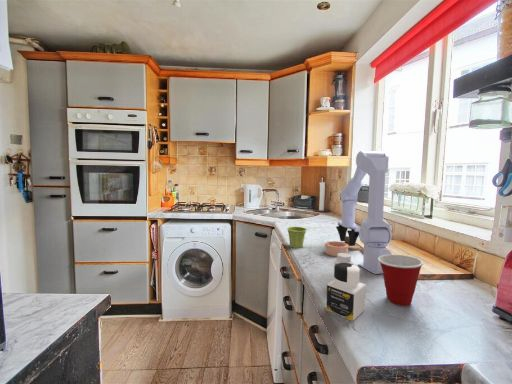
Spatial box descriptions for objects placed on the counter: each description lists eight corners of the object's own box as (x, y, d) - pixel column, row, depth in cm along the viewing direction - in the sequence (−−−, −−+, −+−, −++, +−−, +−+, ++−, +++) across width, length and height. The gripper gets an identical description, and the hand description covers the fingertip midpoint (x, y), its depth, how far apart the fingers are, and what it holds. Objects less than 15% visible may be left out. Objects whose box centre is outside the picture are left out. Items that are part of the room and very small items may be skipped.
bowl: (351, 256, 105) (352, 246, 104) (332, 258, 103) (333, 248, 102) (339, 250, 113) (340, 240, 113) (322, 251, 111) (322, 242, 111)
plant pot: (309, 246, 120) (310, 228, 119) (300, 250, 113) (300, 232, 112) (293, 242, 126) (293, 225, 125) (282, 246, 119) (283, 229, 118)
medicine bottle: (325, 310, 64) (327, 265, 63) (339, 300, 69) (340, 258, 68) (352, 322, 59) (354, 273, 58) (364, 310, 64) (366, 265, 63)
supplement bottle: (348, 282, 80) (349, 251, 79) (355, 291, 75) (356, 257, 74) (331, 282, 80) (332, 251, 79) (336, 290, 75) (337, 257, 74)
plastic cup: (381, 287, 77) (382, 249, 76) (423, 299, 70) (425, 257, 69) (371, 301, 68) (373, 259, 67) (418, 316, 61) (420, 269, 61)
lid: (365, 249, 113) (365, 239, 113) (343, 251, 110) (344, 240, 110) (350, 243, 124) (350, 233, 123) (330, 244, 121) (330, 234, 121)
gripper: (366, 217, 110) (364, 247, 111) (346, 212, 124) (345, 238, 125) (352, 217, 108) (351, 248, 109) (334, 212, 122) (333, 239, 123)
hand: (347, 243), depth 117 cm, fingers open, 7 cm apart
